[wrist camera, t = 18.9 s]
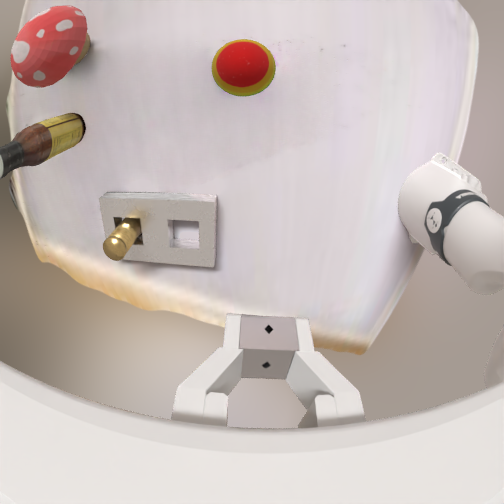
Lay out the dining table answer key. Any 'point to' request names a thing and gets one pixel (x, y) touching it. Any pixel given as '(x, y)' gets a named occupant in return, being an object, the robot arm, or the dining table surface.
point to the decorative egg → (243, 67)
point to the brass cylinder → (122, 238)
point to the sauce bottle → (42, 142)
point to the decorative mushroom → (50, 46)
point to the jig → (164, 225)
